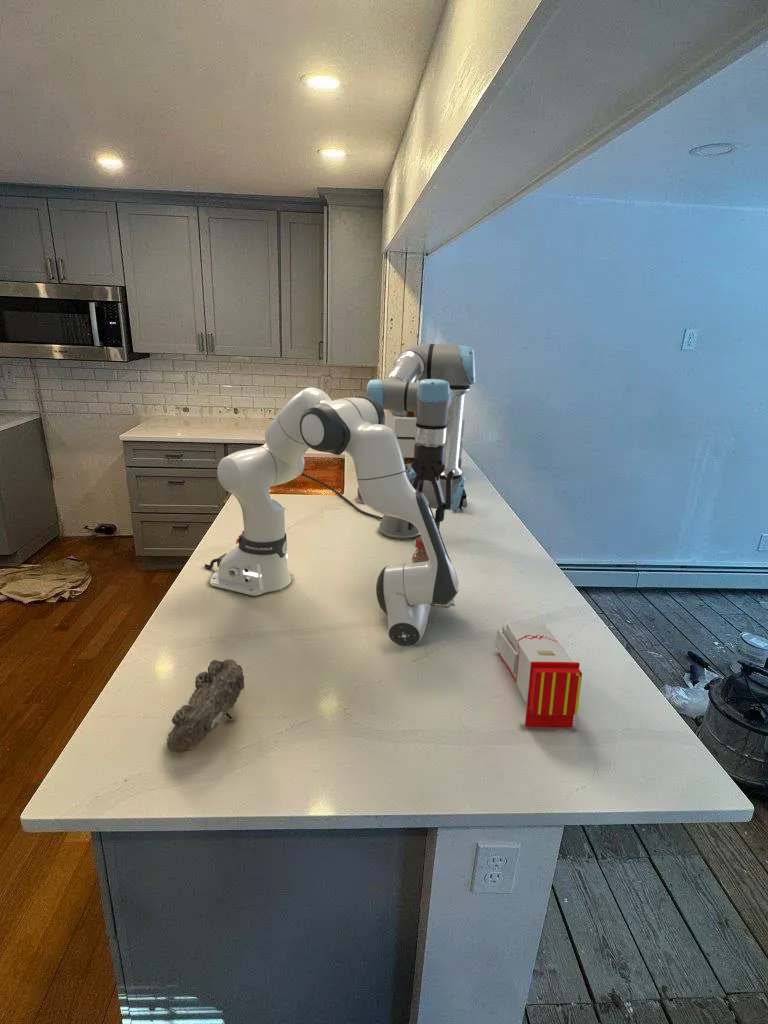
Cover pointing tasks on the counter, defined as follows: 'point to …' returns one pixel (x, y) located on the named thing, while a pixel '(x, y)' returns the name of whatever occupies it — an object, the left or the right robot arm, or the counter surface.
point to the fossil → (206, 705)
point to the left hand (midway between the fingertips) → (420, 577)
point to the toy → (541, 674)
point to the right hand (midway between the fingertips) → (423, 530)
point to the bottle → (420, 556)
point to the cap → (419, 543)
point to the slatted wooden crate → (409, 432)
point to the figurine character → (463, 500)
